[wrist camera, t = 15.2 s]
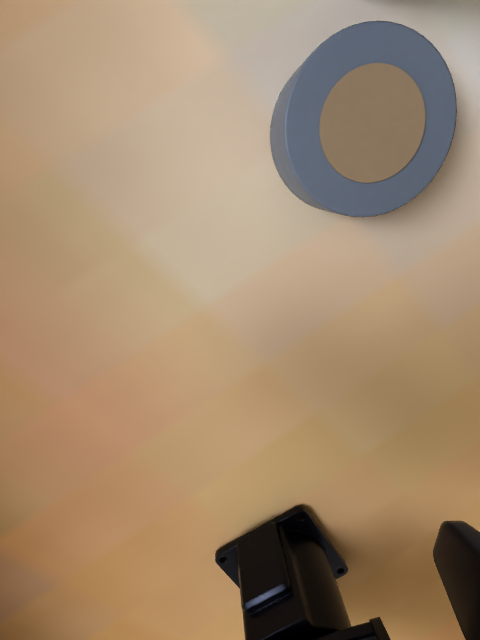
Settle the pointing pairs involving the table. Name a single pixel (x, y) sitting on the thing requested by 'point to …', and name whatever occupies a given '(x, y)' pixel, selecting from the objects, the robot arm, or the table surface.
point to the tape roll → (365, 120)
